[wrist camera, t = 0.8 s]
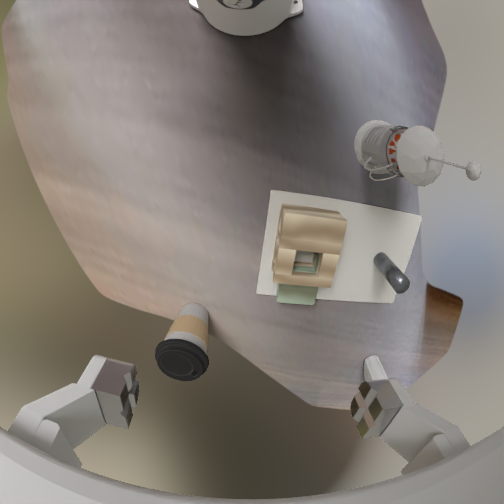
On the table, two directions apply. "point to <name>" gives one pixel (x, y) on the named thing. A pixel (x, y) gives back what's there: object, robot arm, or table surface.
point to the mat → (348, 247)
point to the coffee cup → (185, 345)
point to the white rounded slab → (373, 369)
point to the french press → (403, 153)
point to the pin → (391, 273)
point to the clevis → (306, 239)
